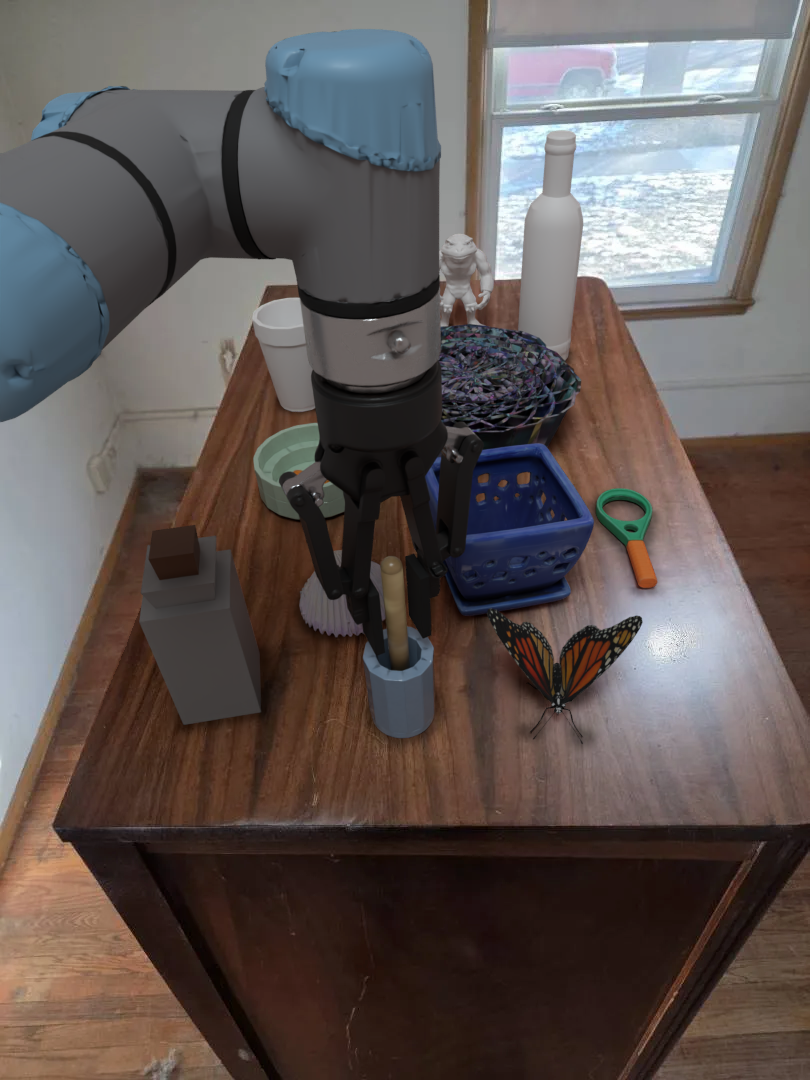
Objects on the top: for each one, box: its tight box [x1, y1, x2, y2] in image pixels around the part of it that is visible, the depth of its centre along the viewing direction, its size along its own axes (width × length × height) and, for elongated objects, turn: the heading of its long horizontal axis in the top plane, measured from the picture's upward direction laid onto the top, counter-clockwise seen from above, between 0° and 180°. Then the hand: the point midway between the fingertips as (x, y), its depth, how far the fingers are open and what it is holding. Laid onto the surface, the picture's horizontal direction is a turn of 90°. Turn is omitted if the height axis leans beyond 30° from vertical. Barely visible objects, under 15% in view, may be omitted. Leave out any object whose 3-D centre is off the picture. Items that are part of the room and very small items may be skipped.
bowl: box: [252, 422, 345, 520], centre depth 87 cm, size 13×13×5 cm
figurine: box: [439, 233, 495, 327], centre depth 113 cm, size 11×7×15 cm, turn 90°
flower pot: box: [425, 443, 595, 617], centre depth 72 cm, size 13×13×12 cm
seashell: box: [299, 549, 386, 638], centre depth 74 cm, size 10×6×10 cm
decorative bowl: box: [437, 324, 582, 458], centre depth 94 cm, size 26×28×10 cm
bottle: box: [517, 129, 584, 361], centre depth 101 cm, size 8×8×30 cm
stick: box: [379, 555, 410, 671], centre depth 58 cm, size 2×2×18 cm
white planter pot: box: [251, 297, 315, 413], centre depth 100 cm, size 10×9×13 cm
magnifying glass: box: [595, 487, 659, 589], centre depth 79 cm, size 15×6×2 cm, turn 179°
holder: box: [362, 626, 436, 739], centre depth 62 cm, size 6×6×8 cm
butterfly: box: [486, 608, 644, 745], centre depth 61 cm, size 12×10×10 cm
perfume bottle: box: [138, 524, 262, 726], centre depth 61 cm, size 7×7×18 cm
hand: (397, 633), depth 57 cm, fingers open, 3 cm apart
